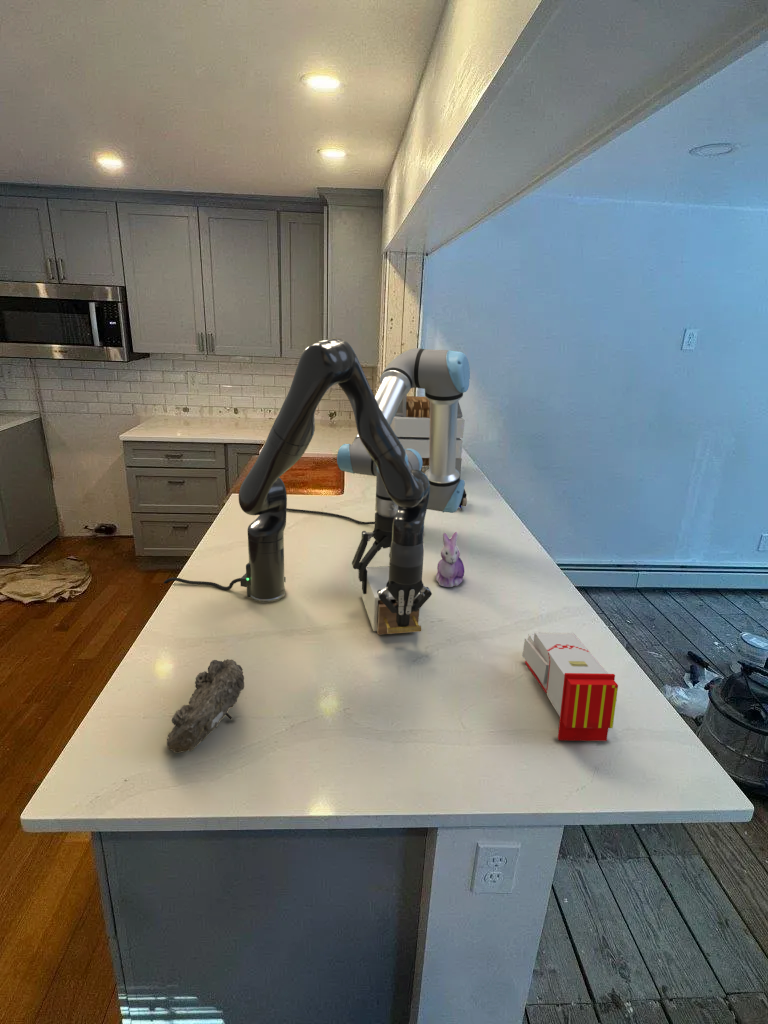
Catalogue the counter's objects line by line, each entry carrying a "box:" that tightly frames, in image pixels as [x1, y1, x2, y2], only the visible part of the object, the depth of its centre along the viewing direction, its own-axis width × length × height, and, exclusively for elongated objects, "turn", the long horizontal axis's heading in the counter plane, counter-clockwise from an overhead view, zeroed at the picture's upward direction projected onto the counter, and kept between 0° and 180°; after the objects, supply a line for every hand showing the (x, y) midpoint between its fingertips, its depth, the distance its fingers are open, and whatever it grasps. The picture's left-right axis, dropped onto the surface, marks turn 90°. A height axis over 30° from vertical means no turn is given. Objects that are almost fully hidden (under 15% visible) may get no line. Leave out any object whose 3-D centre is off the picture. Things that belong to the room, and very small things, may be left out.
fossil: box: [166, 658, 245, 754], centre depth 106 cm, size 22×10×15 cm
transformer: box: [390, 394, 465, 475], centre depth 268 cm, size 34×33×41 cm
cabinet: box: [361, 565, 420, 632], centre depth 146 cm, size 17×11×9 cm, turn 12°
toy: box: [522, 631, 619, 742], centre depth 117 cm, size 12×13×30 cm
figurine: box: [435, 531, 465, 588], centre depth 164 cm, size 9×10×15 cm
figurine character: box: [458, 488, 468, 511], centre depth 230 cm, size 7×8×15 cm
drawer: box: [376, 599, 422, 635], centre depth 140 cm, size 22×10×8 cm, turn 12°
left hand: (402, 626), depth 133 cm, fingers closed
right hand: (386, 590), depth 150 cm, fingers closed on cabinet, 11 cm apart
